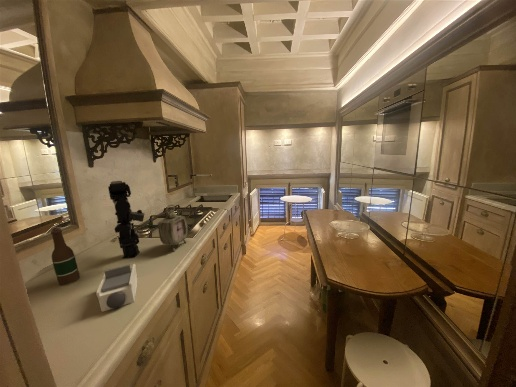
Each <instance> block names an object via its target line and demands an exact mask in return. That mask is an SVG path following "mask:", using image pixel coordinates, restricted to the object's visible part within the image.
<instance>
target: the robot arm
mask: <svg viewBox="0 0 516 387" xmlns="http://www.w3.org/2000/svg"><path fill="white" fill-rule="evenodd" d="M108 195H109V197H110V200H112V203H113V205H114V209H115V213H114V214H115V216H116V220H117V221H116V226H114V233H116V234H117V233H118V235H119V236H118V238H117V239H118V243H119V247H120V249H121V250H122V254H123V256H122V257H121V258H122V259H130V258H135V257H137V255H138V254H140V251H141V250H140V249H139V245H138V244H139V243H140V238H139V235H138V234H137V233H136V231H135V229H134V224H135V223H134V222H133V221H137V222H144V218H145V213H144V212H143V211H142V210H141V209H138V210H137V211H132V209H131V203H130V202H129V198H131V195H132V191H131V188H130V185H129V184H128V183H126V182H125V181H122V180H115V181H113V180H112V181H111V182H110V183H109V185H108Z"/></svg>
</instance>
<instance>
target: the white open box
mask: <svg viewBox="0 0 516 387" xmlns="http://www.w3.org/2000/svg"><path fill="white" fill-rule="evenodd" d="M136 268H137V266H136V263H133V264H132V267H131V271H132V272H131V276H130V281H129V285H126V286H123V287H119V288H116V289H112V290H108V291H105V292H102V287H103V285H104V282H105V280H106V277H105V273H104V274H103V277H102V280H101V282H100V283H99V286H98V288H97V291H96V293H95V294H96V297H97V299H98V302H99V306H100V310H101V312H106V311H110V310H113V309H115V310H116V309H119V308H121V307H122V306H125V305H130V304H133V303H135V300H136V299H135V298H136V294H137V293H136V292H137V285H138V275H137V269H136Z"/></svg>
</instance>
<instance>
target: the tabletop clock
mask: <svg viewBox="0 0 516 387" xmlns="http://www.w3.org/2000/svg"><path fill="white" fill-rule="evenodd" d="M169 207H173V209H170V210H169V211H168V209H169ZM165 209H166V210H165V212H166V213H168V214H167V215H166V217H165V218H164V219H161V220H160V221H159V222H158V226H157V229H158V237H159V240H160V241H161V243H162V244H164V245H171V247H172V250H171V251H172V252H175V251H176V248H175V245H179V244H180V243H182V242H183V243H184V244H186V243H187V242H188V241H187V240H186V239H187V238H188V236H189V227H188V221H187V217H186V216H185V215H177V214H176V213H175V212H174V211H175V209H176V207H175V205H174V204H169V205H168V206H166V208H165Z"/></svg>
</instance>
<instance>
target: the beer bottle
mask: <svg viewBox="0 0 516 387" xmlns="http://www.w3.org/2000/svg"><path fill="white" fill-rule="evenodd" d="M62 232H63V230H62V229H61V228H56V229H53V230H50V234H51V236H52V241H53V242H52V243H53V244H54V245H53V247H54V249H53V251H52V252H51V253H52V254H51V262H52V265H53V269H54V272H55V276H56V279H57V283H58V285H59V286H66V285H67V286H68V285H70V284H72V283H75V282H77V281H78V280H79V279H80V278H81V277H80V271H79V267H78V263H77V260H76V256H75V252H74V251H73V249H72V248H71V246H69V245H67V244H66V241H65V238H64V236H63V233H62Z"/></svg>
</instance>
